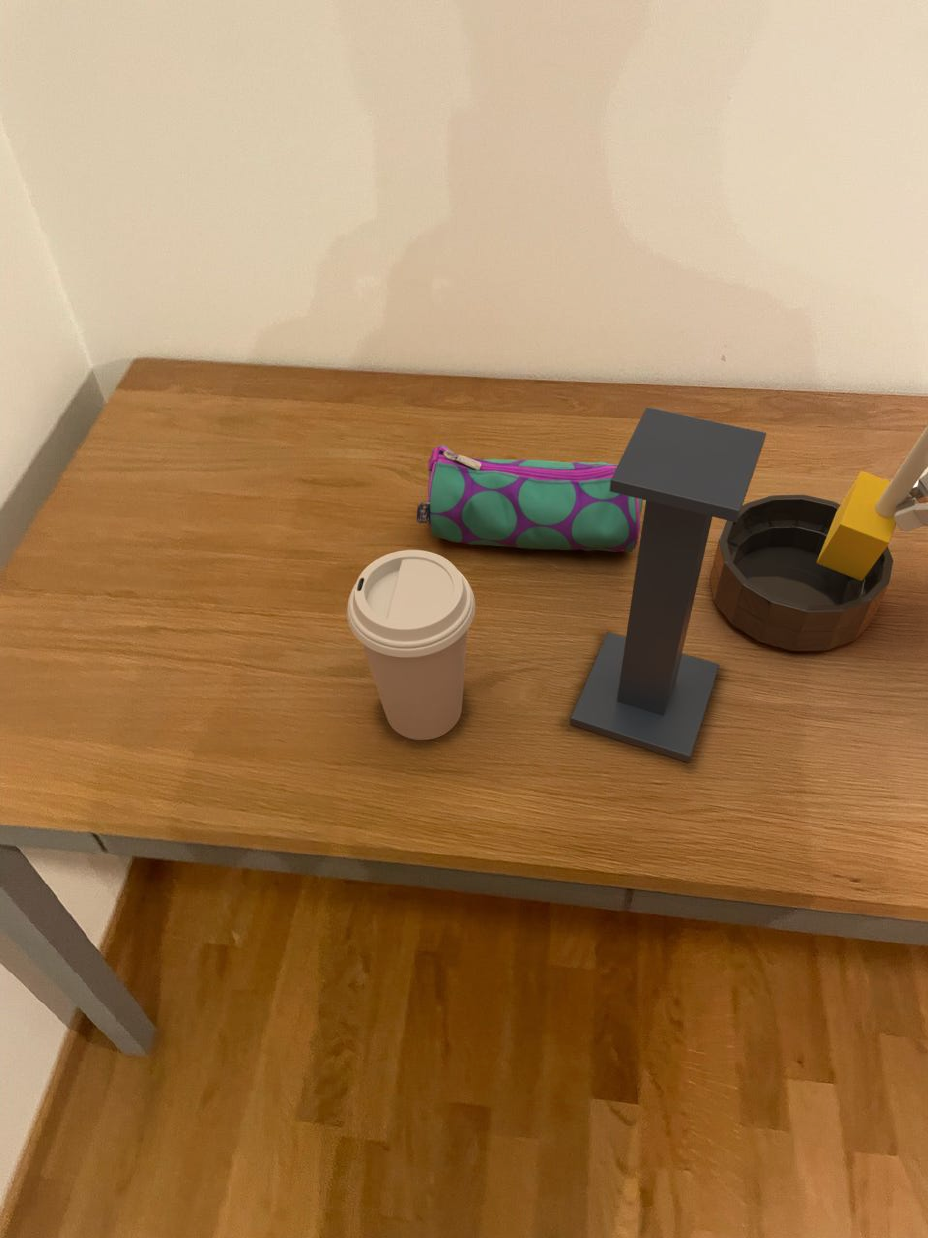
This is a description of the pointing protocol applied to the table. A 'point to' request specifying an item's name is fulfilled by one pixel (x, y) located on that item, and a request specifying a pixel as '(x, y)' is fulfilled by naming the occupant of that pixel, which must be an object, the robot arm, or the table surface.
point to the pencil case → (528, 504)
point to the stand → (667, 580)
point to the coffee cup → (414, 638)
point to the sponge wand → (870, 516)
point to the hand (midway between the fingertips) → (900, 507)
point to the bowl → (791, 577)
